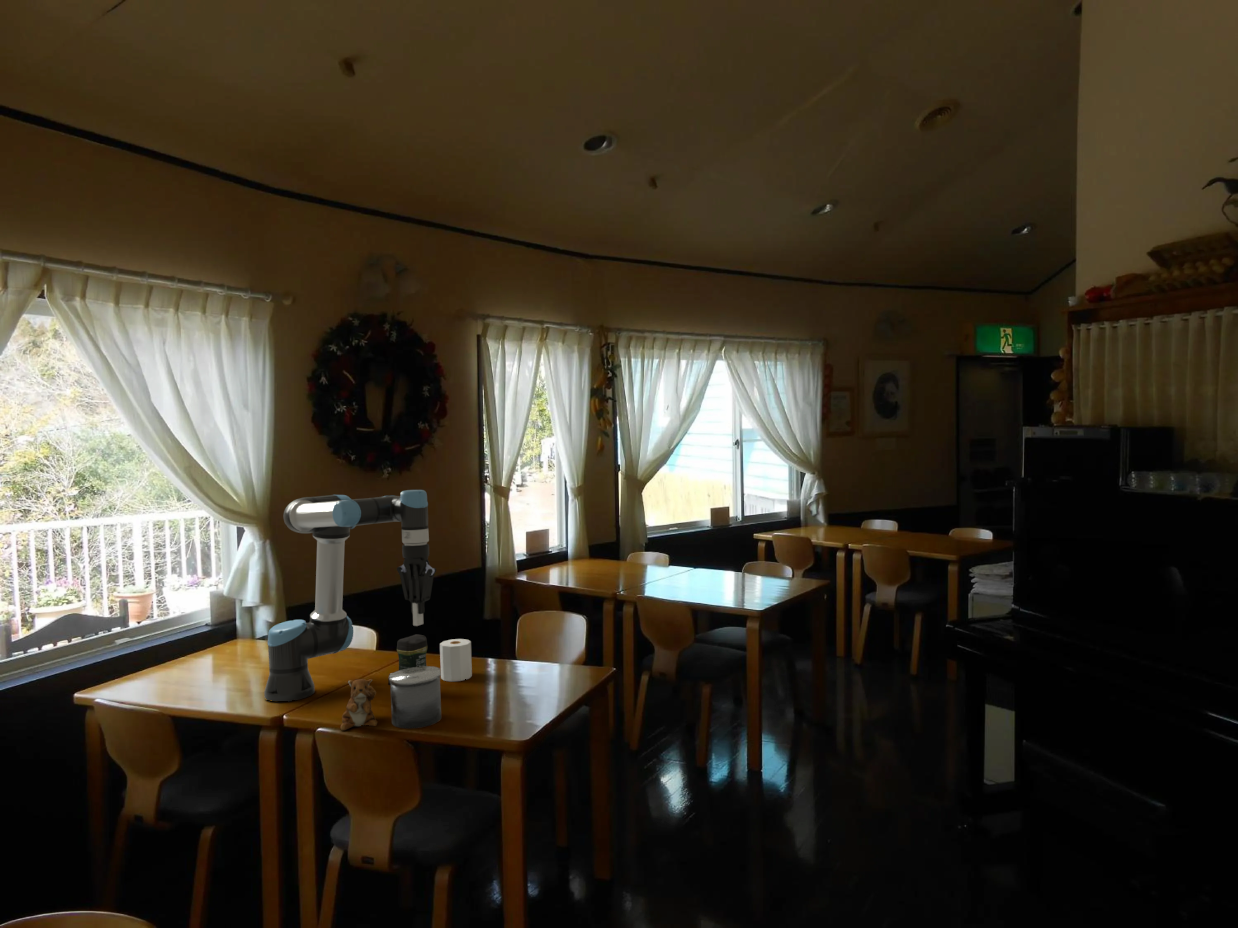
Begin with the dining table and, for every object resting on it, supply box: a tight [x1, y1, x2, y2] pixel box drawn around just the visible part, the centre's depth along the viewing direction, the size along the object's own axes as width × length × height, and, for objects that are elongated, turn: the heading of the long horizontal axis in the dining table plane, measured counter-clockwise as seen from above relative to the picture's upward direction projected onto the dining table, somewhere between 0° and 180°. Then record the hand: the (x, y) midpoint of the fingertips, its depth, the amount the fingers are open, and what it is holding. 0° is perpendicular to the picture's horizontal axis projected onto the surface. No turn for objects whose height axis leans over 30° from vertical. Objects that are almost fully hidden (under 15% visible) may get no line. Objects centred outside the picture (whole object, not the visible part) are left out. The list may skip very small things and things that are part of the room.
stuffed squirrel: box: [340, 678, 378, 731], centre depth 237 cm, size 10×14×13 cm
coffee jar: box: [396, 634, 428, 671], centre depth 263 cm, size 10×8×19 cm
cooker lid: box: [388, 665, 441, 685], centre depth 237 cm, size 15×15×1 cm
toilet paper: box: [439, 638, 473, 683], centre depth 279 cm, size 10×10×12 cm
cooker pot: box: [387, 676, 442, 730], centre depth 238 cm, size 15×14×12 cm
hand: (418, 624), depth 236 cm, fingers closed
